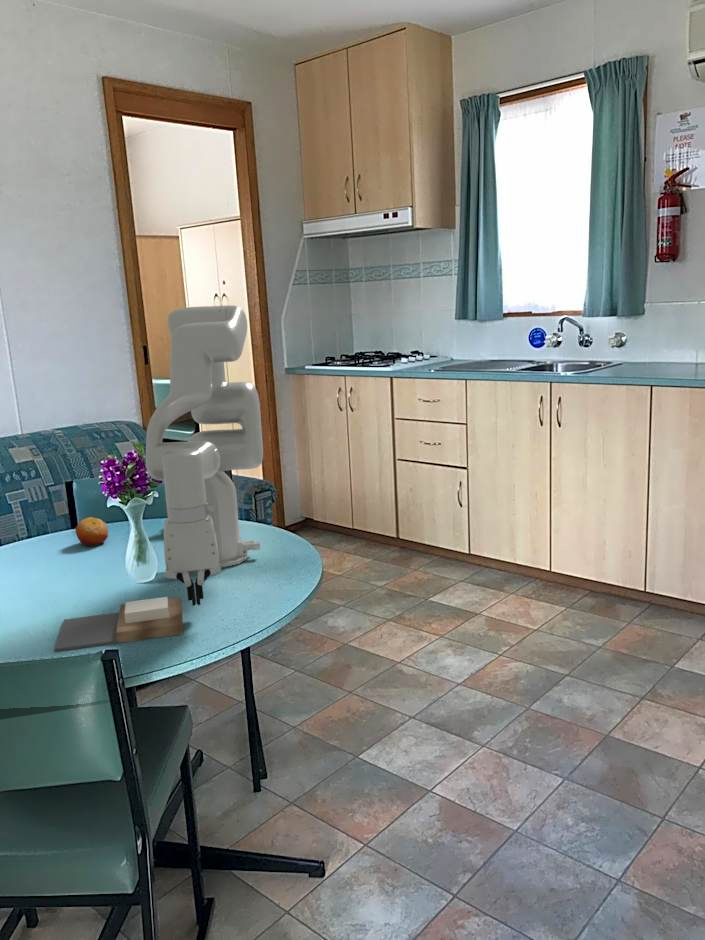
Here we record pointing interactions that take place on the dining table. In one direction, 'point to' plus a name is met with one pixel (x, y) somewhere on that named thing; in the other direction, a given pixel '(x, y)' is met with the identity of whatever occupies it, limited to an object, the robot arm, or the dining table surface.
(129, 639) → the board
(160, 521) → the dining table surface
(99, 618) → the mat
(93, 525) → the fruit
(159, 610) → the block
